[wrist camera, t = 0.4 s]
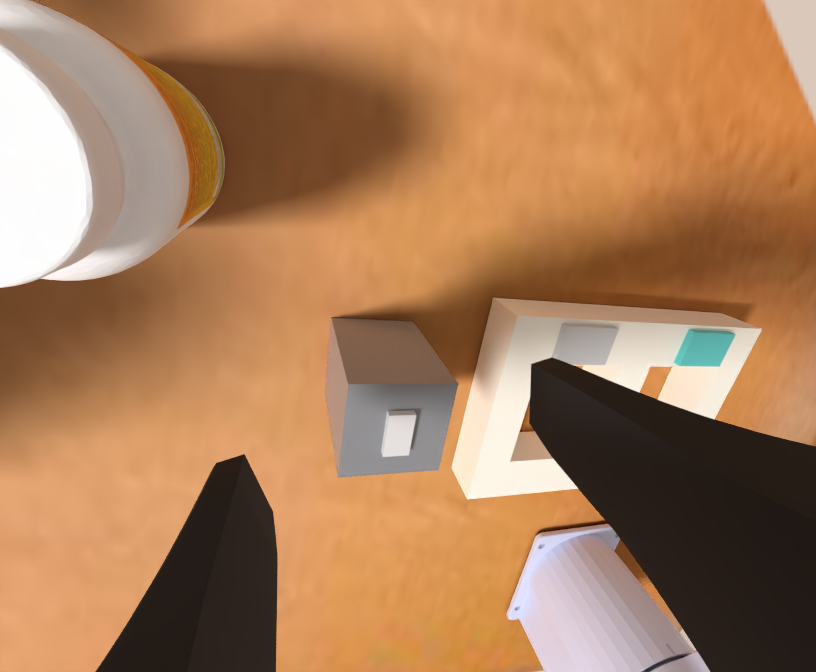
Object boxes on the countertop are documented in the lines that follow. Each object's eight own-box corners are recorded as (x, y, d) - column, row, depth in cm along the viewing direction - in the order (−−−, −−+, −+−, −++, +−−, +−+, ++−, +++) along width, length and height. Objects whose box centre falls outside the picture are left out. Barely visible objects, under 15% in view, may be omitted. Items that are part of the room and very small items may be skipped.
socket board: (653, 453, 29) (687, 482, 27) (451, 468, 25) (470, 504, 22) (721, 312, 25) (769, 331, 23) (493, 297, 20) (522, 319, 18)
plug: (401, 390, 21) (440, 475, 16) (325, 391, 20) (338, 483, 15) (413, 320, 20) (461, 387, 14) (331, 317, 19) (349, 389, 13)
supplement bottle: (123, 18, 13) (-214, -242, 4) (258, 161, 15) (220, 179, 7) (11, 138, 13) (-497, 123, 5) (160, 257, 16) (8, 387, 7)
